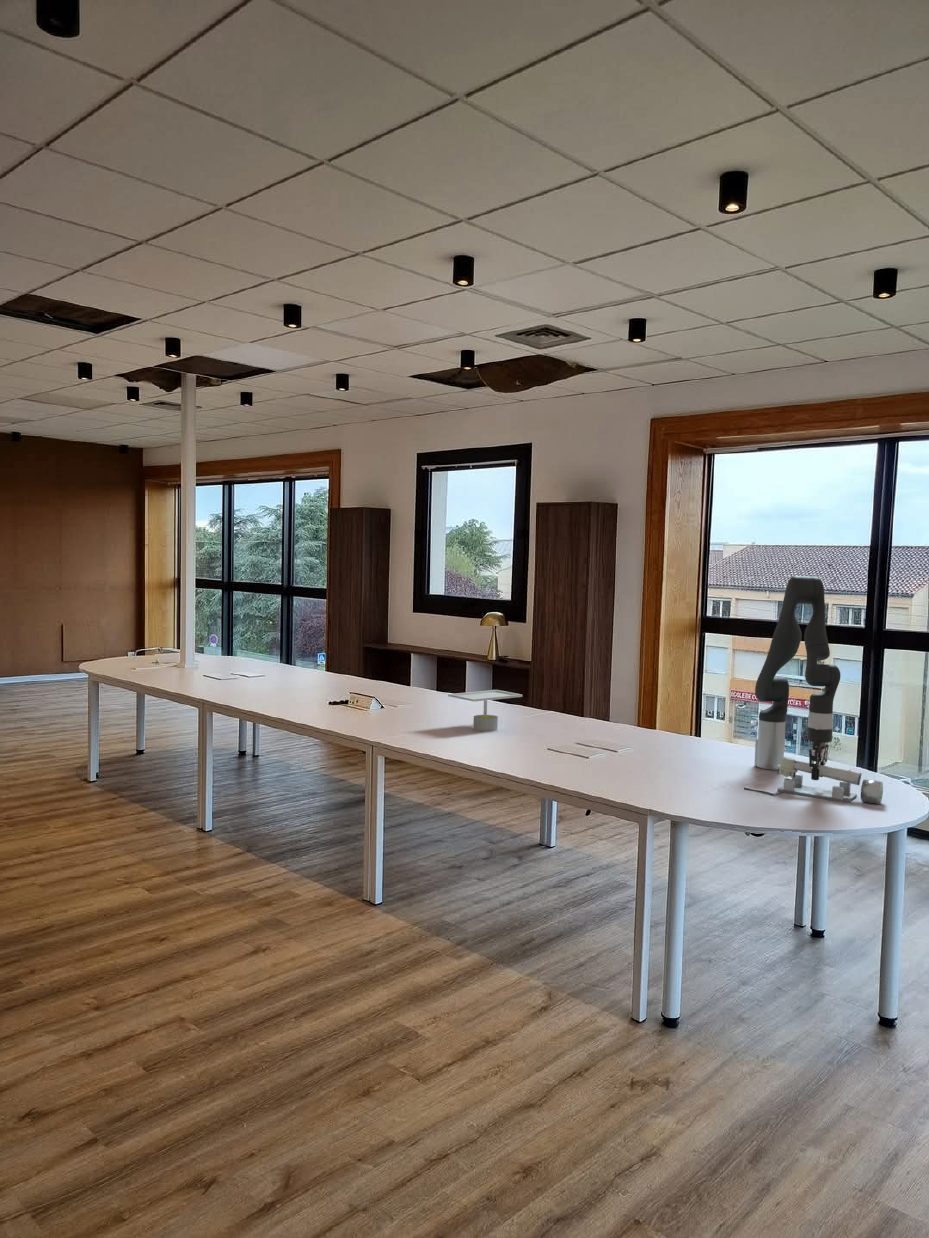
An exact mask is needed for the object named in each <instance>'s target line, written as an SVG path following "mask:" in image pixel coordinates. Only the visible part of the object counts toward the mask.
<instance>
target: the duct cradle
mask: <svg viewBox="0 0 929 1238" xmlns="http://www.w3.org/2000/svg"><path fill="white" fill-rule="evenodd" d="M803 777H804V775H803V774H800V773H796V774H795V778H788V777H785V778H784V779H783V784H782V785H781V786H780V787H778V788H776V791H777V792H780V793H785V794H792V795H799V796H804V797H810V798H815V799H816V798H817V799H820V800H821V799H822V800H828V801H835V802H840V803H847V804H849V803H851V802H852V801H853V800H854V799H856V798H857V797H858V794H857V793H852V792H851V785H852V784H851V783H848V784H847V782H843V781H839V786H836V785H833V786H832V789H829V788H821V787H816V786H815V787H814V786H808V785H804V784H803V782H804V781H803V779H804V778H803ZM883 794H884V784H883V782H882V781H880V780H879V781H878V780H872V779H863V780H862V783H861V787H860V801H861V802H862V803H868V804H875V805H881V803H882V800H883Z"/></svg>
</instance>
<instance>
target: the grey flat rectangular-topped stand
mask: <svg viewBox="0 0 929 1238" xmlns="http://www.w3.org/2000/svg"><path fill="white" fill-rule="evenodd" d="M447 694H448V695H447V697H450V698H454V699H455V698H456V699H460V700H465V701H470V702H474V703H475V702H483V714H477V715H473V725H472V726H473V730H474V731H477V732H494V731H498V726H499V725H498V722H499V720H498V718H499V716H498V715H495V714H494V715H493V714H488V701H492V700H502V699H503V700H504V699H513V698H521V697H522V698H523V694H520V693H515V692H512V691H511V692H510V691H505V690H499V689H489V690H481V691H479V690H478V691H469V692H468V691H467V692H458V693H447Z"/></svg>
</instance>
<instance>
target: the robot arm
mask: <svg viewBox="0 0 929 1238" xmlns="http://www.w3.org/2000/svg"><path fill="white" fill-rule="evenodd" d="M825 602H826V601H825V588H824V584H823V580H822V579H821V578H820V577H818V576H809V575H808V576H806V575H793V576H791V577H790V578H789V580H788V582H787V585H786V587H785V591H784V596H783V600H782V604H781V605H782V606H781V611H780V614H779V617H778V620H777V624H776V626H775V630H774V632H773V635H772V637H771V642H770V644H769V649H768V652H767V655H766V658H765V661H764V664H763V665H762V668H761V669H760V670H761V671H760V672H759V675H758V677H757V679H756V683H755V686H754V687H755V688H754V692H755V693H754V694H755V697H756V699H757V700H758V701H759V702H763V703H766V702H767V703H770V702H771V703H772V705H770V706H769V707H767V708H765V709H762V710H760V711H759V713H758V727H757V728H758V729H757V730H758V732H757V738H756V739H755V744H754V766H756V767H758V768H759V769H764V770H769V771H770V770H773V771H774V770H775V771H778V768H777V765H780V764H781V761H782V759H783V757H785V738H786V723H787V722H786V717H787V714H788V704H789V697H790V683H789V681H788V679H787V678H786V677H785V676H783V675H782V676H779V675H778V676H777V675H776V674H778V672H779V671H780V670H781V669H782V668H783V667H784V666H785V665H786V664H787V663H789V662H790V661H791V660H792V659H793V658H794V657H795V655H796V654H797V653H798V650H799V647H800V644H801V642H802V638H803V641H804V645H805V651H806V665H805V672H804V678H805V681H806V683H807V685H809V686H811V687H824V688H823V689H822V691H820V692H816V693H813V694H811V695H810V696H809V707H808V716H807V732H806V740H807V741H809V742H812V746H811V747H810V748H809V750H808V757H809V758H808V759H809V761H808V763H809V767H811V768H812V773H810V778H811V780H812V781H819V780H820V778H824V777H823V776H819V768H820V765H823V766H826V763H827V761H828V755H829V754H828V753H829V744H828V743H832V741H833V731H834V730H833V728H834V726H833V725H834V718H833V717H834V716H833V710H834V699H835V696H836V692H837V690H838V687H839V684H840V680H841V678H842V677H841V671H840V669H839V667H838V666H837V665H835V664H825V663H824V664H823V663H822V664H820V663H818V662H821V661H825V660H827V659H828V658H829V657H831V656H830V655H831V653H830V652H831V651H830V647H829V640H828V636H827V629H826V603H825ZM798 604H801V605H802V604H804V605H805V604H806V605H811V607H812V615H811V617H810V620H809V621H808V624H807V626H806V628H805V630H804V632H803V633H804V635H803V634H802V631H801V628H800V625H799V623H798V620H797V617H796V609H797V605H798ZM802 635H803V636H802Z"/></svg>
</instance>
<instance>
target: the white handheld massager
mask: <svg viewBox="0 0 929 1238" xmlns="http://www.w3.org/2000/svg"><path fill="white" fill-rule="evenodd" d="M777 768H778V770H777V775H779V776H780V775H782V776H783V777H785V778H788V777H790V779H792V778H795V774H797V773H798V771H799V772H803V773H808V774H811V773H812V768H811V767H809V762H807V761H806V762H805V761H800V760H796V759H795V758H792V757H789V756H788V757H787V756H784V757H783V759H782V761H781V764H780V765H777ZM862 775H863V774H862V772H858V771H854V770H851V769H844V768H838V767H832V766H827V765H824V766H823V765H820V768H819V776H823V777H822V778H828V779H830V780H836V781H838V782H840V781H843V782H847V784H848V783H851V785H855V786H860V783H861V778H862Z"/></svg>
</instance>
